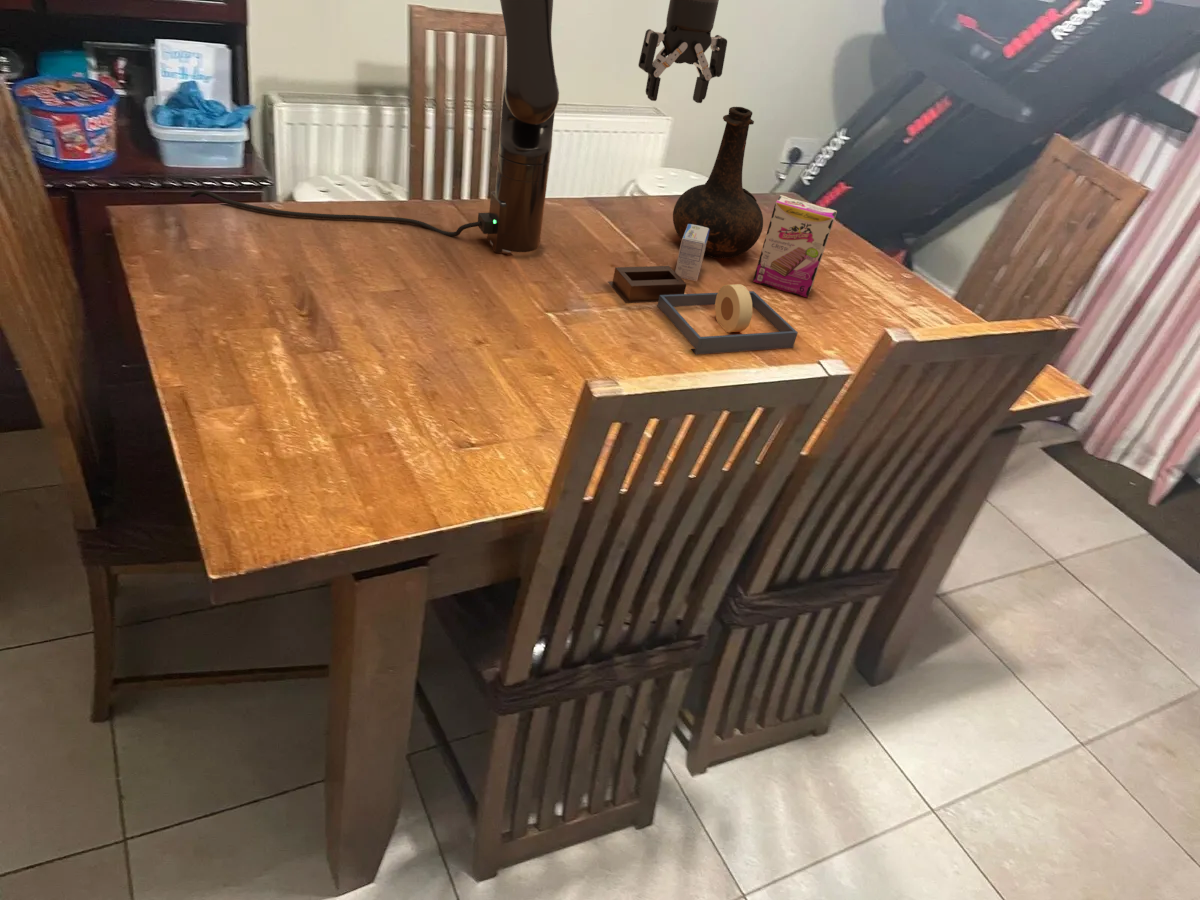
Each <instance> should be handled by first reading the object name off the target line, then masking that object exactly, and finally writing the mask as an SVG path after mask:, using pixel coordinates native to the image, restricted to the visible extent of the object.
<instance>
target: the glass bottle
mask: <svg viewBox="0 0 1200 900" xmlns="http://www.w3.org/2000/svg"><path fill="white" fill-rule="evenodd" d="M752 116H753V111H752V110H750V109H749V108H746V107H744V106H731V107H728V114H725V115H723V116H722V120H723V122H725V127H724V130H723V134H722V137H721V141H720V145H719V149H718V152H717V155H716V158H715V161H714V164H713V167H712V168H711V169H712V170H711V172H710V174H709V176H708V179H707V180H706V182H705V183H704V184H698V185H694V186H693V187H690V188H688V189H687V190H685V191H683V193H682V194H681V195H680V196H679V197H678V199H677V200H676V202H675V204H674V207H673V211H672V223H673V227H674V230H675V232H676V235H677V236H678V238H679V240H680V241H682V238H683V236H684V233H685V231H686V228H687V225H688V224H693V225H698V226H703V227H707V228H709V229H710V230H709V235H708V239H707V244H706V248H705V252H704V256H707V257H712V258H713V259H731V258H735V257H738V256H741V255H742V254H745V253H746V252H748V251H749V250H751V249H752V248H753V247H754V246H755V244H757V242H758V241H759V239H760V237H761V235H762V232H763V228H764V217H763V216H764V215H763V212H762V209H761V207H760V205H759V203H757V199H756V197H755V196H754V195H753V194H752V193H751V192H750V191H749V190H747V189H746V188H744V187H743V169H744V158H745V152H746V151H745V150H746V146H747V139H748V133H749V129H750V125H751V126H752V125H754V123H755V120H753V119H752Z"/></svg>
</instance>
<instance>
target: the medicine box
mask: <svg viewBox="0 0 1200 900" xmlns="http://www.w3.org/2000/svg"><path fill="white" fill-rule="evenodd" d="M709 230H710V229H709V228H707V227H703V226H698V225H693V224H688V225H687V228H686V231H685V233H684V236H683V238H682V241H681V240H680V241H681V242H680V246H679V250H678V255H677V259H676V266H675V270H674V272H675V273H676V274H677V275H678V276H679V277H680V278H681V279H683V280H688V281H693V282H698V279H699V276H700V272H701V270H702V265H703V261H704V256H705V255H704V252H705V248H706V244H707V239H708V235H709Z"/></svg>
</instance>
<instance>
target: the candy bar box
mask: <svg viewBox="0 0 1200 900" xmlns="http://www.w3.org/2000/svg"><path fill="white" fill-rule="evenodd" d="M771 213H772V214H771V217H770V220H769V224H768V227H767V230H766V234H765V238H764V241H763V244H762V248H761V252H760V255H759V258H758V262H757V265H756V269H755V272H754V274H753V275H754V276H753V279H752V282H753V283H755V284H756V283H757V284H759V285H763V286H767V287H770V288H773V289H777V290H780V291H783V292H786V293H789V294H794V295H797V296H799V297H803V298H809V295H810V293H811V291H812V289H813V287H814V283H815V280H816V277H817V273H818V271H819V267H820V264H821V261H822V258H823V256H824V252H825V249H826V246H827V243H828V240H829V237H830V234H831V231H832V228H833V226H834V222H835V219H836V216H837V213H838V211H837V210H835V209H832V208H829V207H825V206H822V205H818V204H814V203H811V202H806V201H803V200H800V199H797V198H793V197H790V196H786V195H783V194H780V195H779V196H778V198H777V199H776V201H775V203H774V206H773V210H772V212H771Z"/></svg>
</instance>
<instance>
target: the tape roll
mask: <svg viewBox="0 0 1200 900" xmlns="http://www.w3.org/2000/svg"><path fill="white" fill-rule="evenodd" d="M749 291H750V290H749V289H748V288H747V287H746V286H745V285H743V284H741V283H735V284H733V283H732V284H724V285H722V286H721V287H720V288H719V290H718V292H717V293H718V294H717V296H716V301H715V305H714V315H715V320H716V322H717V324H718V325H720V326H721V328H722V329H723V330H724V331H725V332H726V333H740V332H744V331H745V330H747V328H748V327H749V326H750V323H751V321H752V318H753V306H752V299H751V296H750V293H749Z"/></svg>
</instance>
